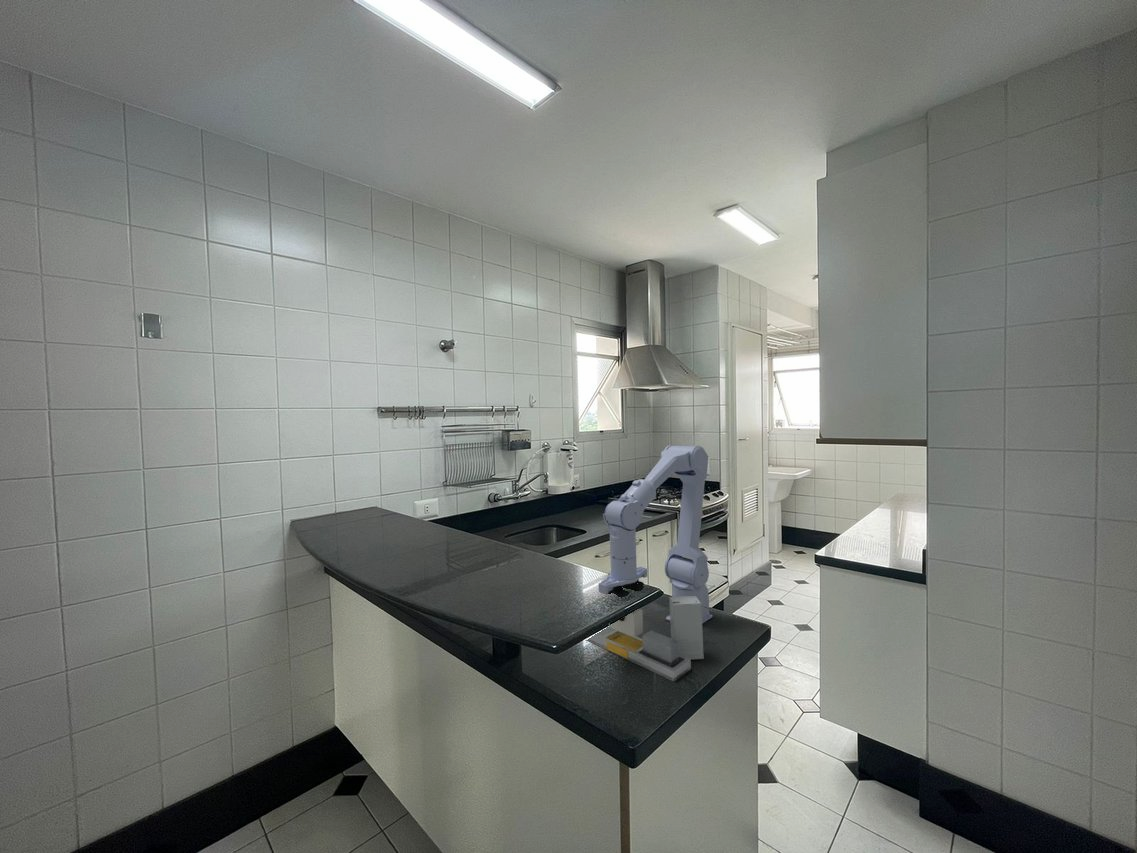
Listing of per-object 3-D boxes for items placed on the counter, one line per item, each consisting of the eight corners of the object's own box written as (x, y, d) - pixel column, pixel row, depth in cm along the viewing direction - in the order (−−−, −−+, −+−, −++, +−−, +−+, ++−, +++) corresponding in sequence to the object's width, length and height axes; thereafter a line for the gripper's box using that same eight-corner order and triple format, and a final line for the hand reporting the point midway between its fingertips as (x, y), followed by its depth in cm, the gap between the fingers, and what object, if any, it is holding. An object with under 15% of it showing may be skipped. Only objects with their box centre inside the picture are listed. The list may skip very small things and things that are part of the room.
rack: (589, 624, 109) (588, 602, 109) (690, 669, 88) (690, 641, 88) (571, 633, 105) (570, 610, 105) (673, 682, 84) (672, 653, 84)
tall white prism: (618, 622, 100) (617, 600, 100) (642, 632, 95) (642, 609, 95) (609, 626, 98) (609, 604, 98) (634, 637, 93) (633, 614, 93)
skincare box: (698, 649, 96) (696, 594, 96) (704, 660, 91) (702, 603, 91) (670, 650, 96) (668, 595, 96) (675, 661, 91) (673, 603, 91)
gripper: (629, 545, 104) (631, 602, 104) (587, 559, 95) (589, 622, 95) (654, 551, 99) (655, 610, 99) (612, 566, 89) (614, 632, 89)
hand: (625, 616), depth 97 cm, fingers closed on tall white prism, 3 cm apart
